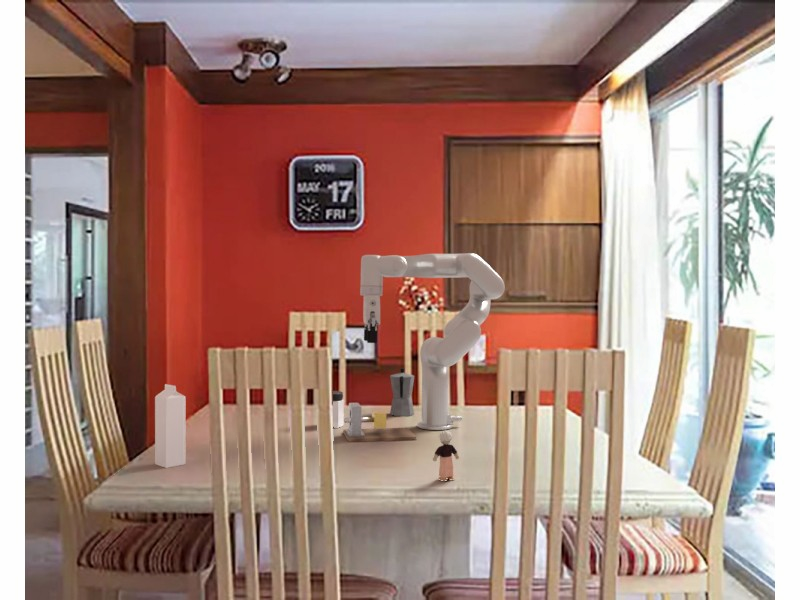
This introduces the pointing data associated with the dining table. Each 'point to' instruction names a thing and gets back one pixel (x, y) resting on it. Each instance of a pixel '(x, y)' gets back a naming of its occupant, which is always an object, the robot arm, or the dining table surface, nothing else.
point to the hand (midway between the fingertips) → (370, 341)
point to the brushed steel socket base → (355, 421)
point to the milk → (170, 428)
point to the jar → (338, 409)
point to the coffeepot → (402, 394)
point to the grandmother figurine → (445, 456)
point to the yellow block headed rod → (373, 419)
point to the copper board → (382, 435)
